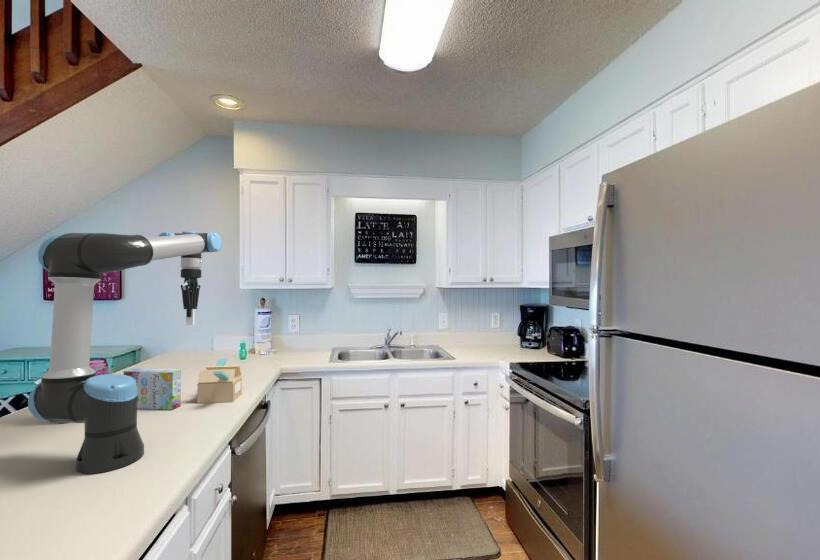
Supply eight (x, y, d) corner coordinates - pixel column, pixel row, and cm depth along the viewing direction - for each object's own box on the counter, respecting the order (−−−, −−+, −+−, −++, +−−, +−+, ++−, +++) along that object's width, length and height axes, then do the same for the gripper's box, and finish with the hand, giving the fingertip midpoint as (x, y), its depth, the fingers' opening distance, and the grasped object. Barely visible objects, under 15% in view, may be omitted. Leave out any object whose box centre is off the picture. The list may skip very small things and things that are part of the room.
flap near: (233, 381, 157) (226, 376, 149) (198, 382, 156) (188, 377, 147) (235, 369, 160) (228, 363, 151) (200, 370, 158) (191, 364, 150)
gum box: (109, 398, 162) (109, 366, 162) (84, 402, 157) (84, 369, 157) (106, 386, 181) (106, 357, 180) (84, 389, 175) (84, 360, 175)
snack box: (182, 405, 153) (182, 368, 153) (171, 410, 147) (171, 372, 147) (133, 404, 155) (133, 367, 155) (121, 408, 149) (121, 370, 149)
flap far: (208, 376, 166) (215, 362, 174) (241, 375, 168) (247, 361, 176) (206, 367, 163) (213, 353, 172) (239, 366, 165) (245, 352, 174)
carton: (233, 402, 157) (233, 382, 157) (197, 403, 155) (197, 384, 155) (242, 394, 168) (242, 376, 168) (208, 395, 166) (208, 377, 166)
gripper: (193, 267, 153) (192, 326, 152) (207, 269, 166) (206, 323, 165) (173, 267, 152) (172, 326, 151) (189, 269, 165) (188, 323, 164)
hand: (190, 324), depth 158 cm, fingers closed
